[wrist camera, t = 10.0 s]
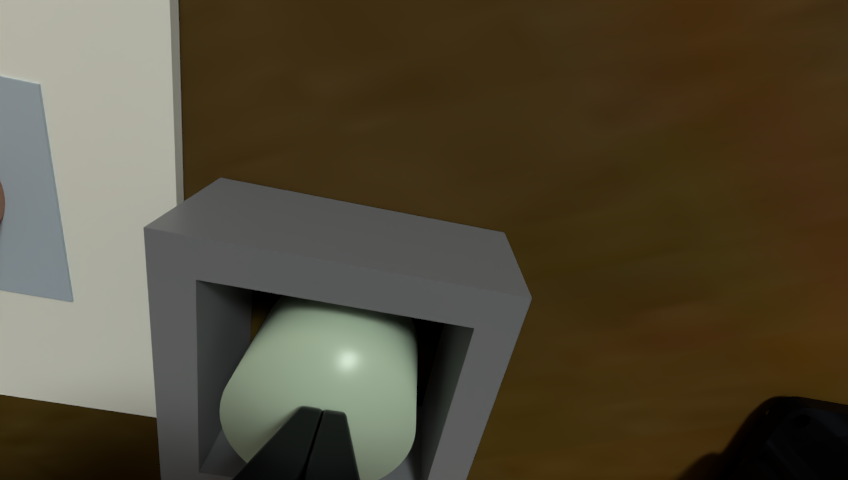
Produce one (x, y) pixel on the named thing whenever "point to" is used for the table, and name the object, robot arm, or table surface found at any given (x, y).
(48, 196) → the paper
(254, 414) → the button
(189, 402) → the button housing
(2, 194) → the marker
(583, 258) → the table surface
